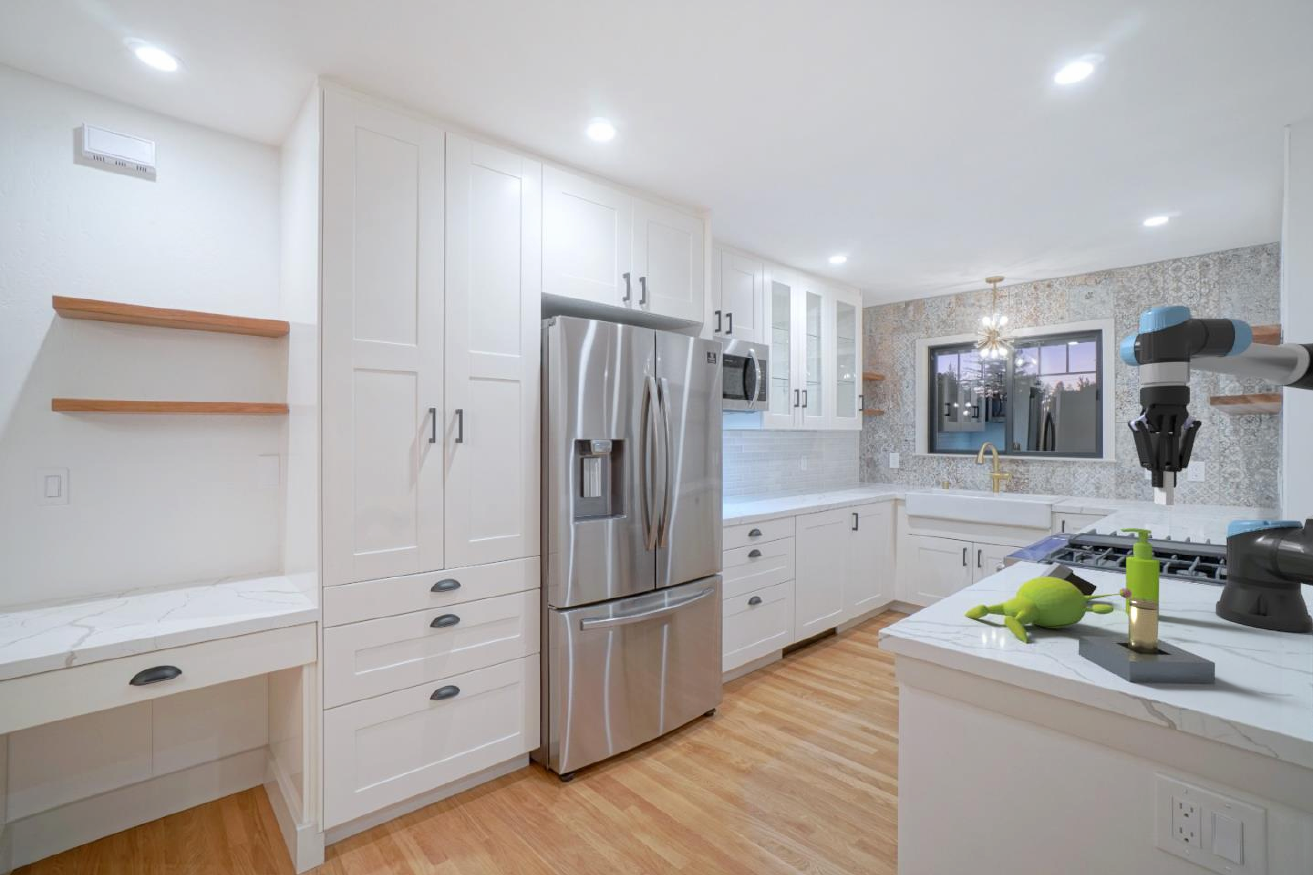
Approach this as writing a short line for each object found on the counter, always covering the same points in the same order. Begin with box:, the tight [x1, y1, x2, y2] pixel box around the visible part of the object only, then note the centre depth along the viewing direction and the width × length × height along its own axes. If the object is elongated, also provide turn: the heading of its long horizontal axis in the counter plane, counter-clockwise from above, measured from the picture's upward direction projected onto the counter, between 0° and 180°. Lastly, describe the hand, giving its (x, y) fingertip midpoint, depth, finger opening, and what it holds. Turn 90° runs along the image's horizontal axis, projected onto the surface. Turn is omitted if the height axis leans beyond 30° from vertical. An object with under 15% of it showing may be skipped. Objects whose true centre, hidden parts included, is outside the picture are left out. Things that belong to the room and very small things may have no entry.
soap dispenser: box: [1120, 527, 1161, 619], centre depth 134 cm, size 6×7×20 cm
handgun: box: [1038, 561, 1097, 603], centre depth 145 cm, size 4×15×12 cm
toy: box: [964, 576, 1132, 644], centre depth 126 cm, size 20×10×30 cm
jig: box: [1078, 635, 1216, 685], centre depth 102 cm, size 14×12×4 cm
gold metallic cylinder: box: [1127, 598, 1159, 655], centre depth 103 cm, size 4×4×12 cm
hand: (1163, 504), depth 115 cm, fingers closed
